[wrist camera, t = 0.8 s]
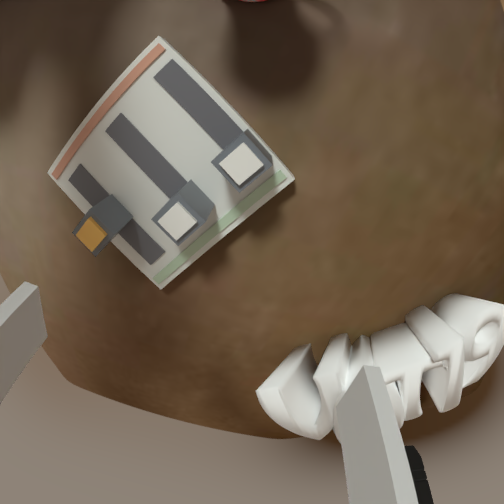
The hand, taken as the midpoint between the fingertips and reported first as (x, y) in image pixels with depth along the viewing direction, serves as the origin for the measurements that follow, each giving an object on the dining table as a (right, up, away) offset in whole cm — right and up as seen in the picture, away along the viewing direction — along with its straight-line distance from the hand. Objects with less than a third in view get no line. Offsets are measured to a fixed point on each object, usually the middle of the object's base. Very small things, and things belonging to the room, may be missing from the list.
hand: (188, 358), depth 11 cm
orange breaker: (-13, +8, +21) cm, 26 cm away
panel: (-7, +13, +21) cm, 26 cm away
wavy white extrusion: (+22, -10, +31) cm, 39 cm away
